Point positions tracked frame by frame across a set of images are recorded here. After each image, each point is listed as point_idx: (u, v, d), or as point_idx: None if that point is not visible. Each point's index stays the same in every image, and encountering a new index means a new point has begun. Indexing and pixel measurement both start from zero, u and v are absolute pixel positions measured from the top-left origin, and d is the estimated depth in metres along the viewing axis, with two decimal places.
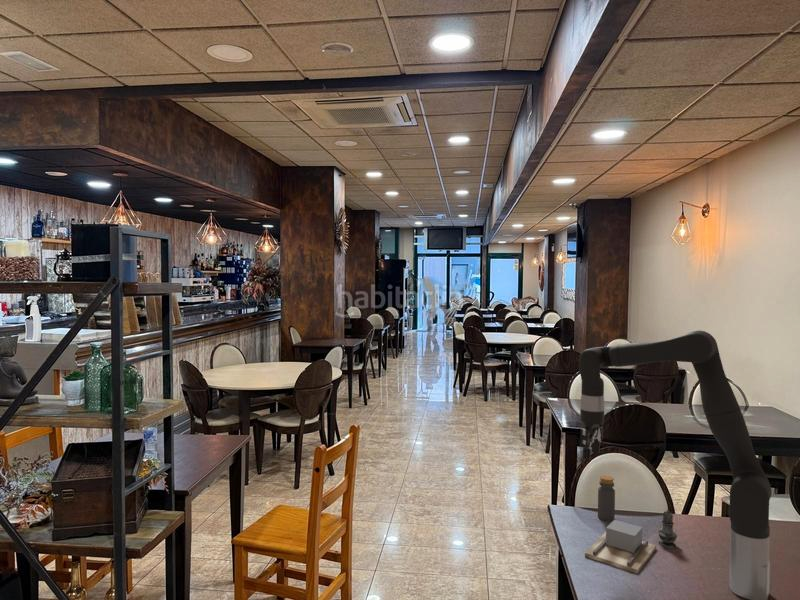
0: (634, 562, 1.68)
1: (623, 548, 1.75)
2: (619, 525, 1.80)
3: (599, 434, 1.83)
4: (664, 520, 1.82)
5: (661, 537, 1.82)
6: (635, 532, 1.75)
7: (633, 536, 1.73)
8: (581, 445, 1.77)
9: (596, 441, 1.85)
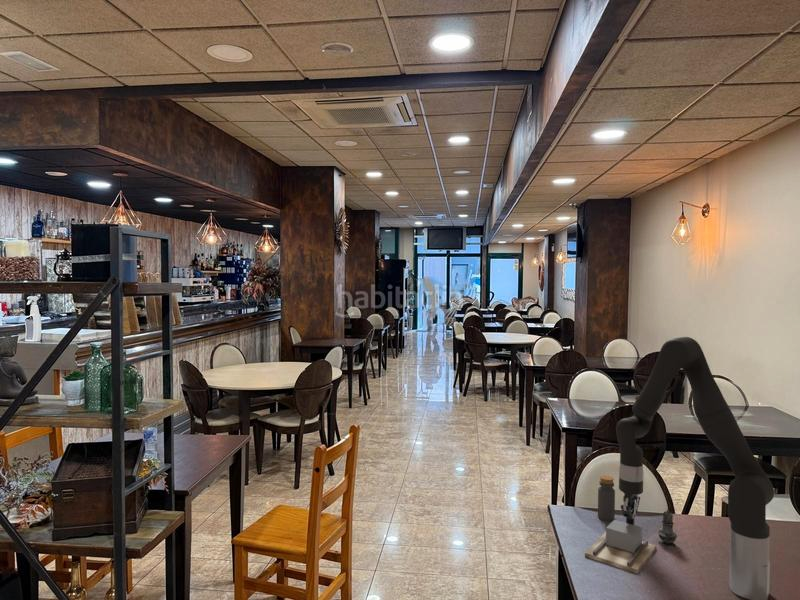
0: (634, 562, 1.68)
1: (623, 548, 1.75)
2: (619, 525, 1.80)
3: (636, 504, 1.83)
4: (664, 520, 1.82)
5: (661, 537, 1.82)
6: (635, 532, 1.75)
7: (633, 536, 1.73)
8: (625, 515, 1.81)
9: None
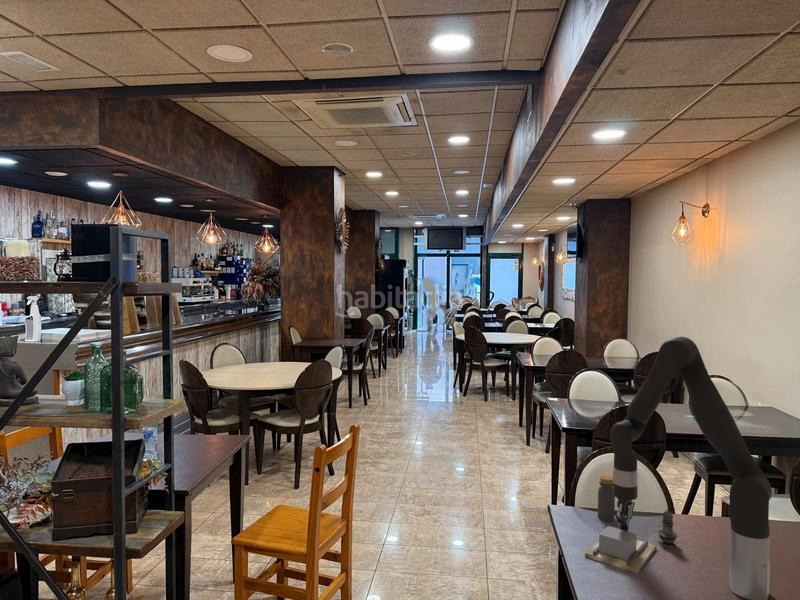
0: (634, 562, 1.68)
1: (617, 555, 1.70)
2: (612, 532, 1.75)
3: (630, 510, 1.78)
4: (664, 520, 1.82)
5: (661, 537, 1.82)
6: (629, 539, 1.71)
7: (627, 543, 1.68)
8: (618, 521, 1.77)
9: None
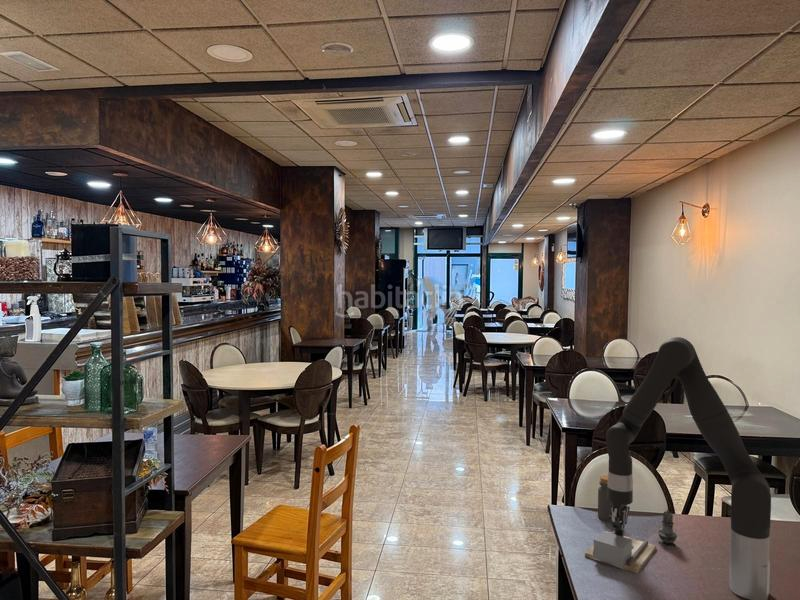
0: (634, 562, 1.68)
1: (611, 561, 1.67)
2: (607, 537, 1.72)
3: (626, 515, 1.74)
4: (664, 520, 1.82)
5: (661, 537, 1.82)
6: (624, 544, 1.67)
7: (622, 549, 1.65)
8: (613, 526, 1.73)
9: None
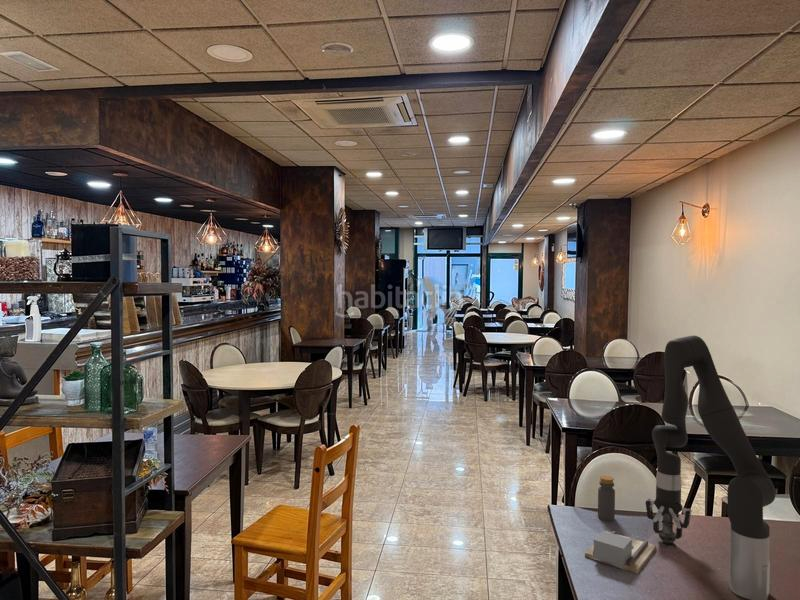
0: (634, 562, 1.68)
1: (611, 561, 1.67)
2: (607, 537, 1.72)
3: (673, 515, 1.80)
4: (664, 520, 1.82)
5: (661, 537, 1.82)
6: (624, 544, 1.67)
7: (622, 549, 1.65)
8: None
9: None
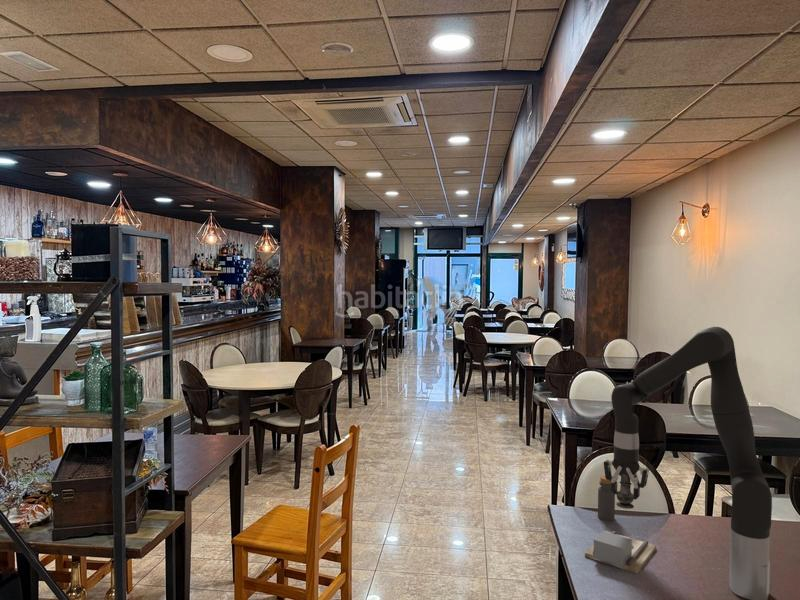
0: (634, 562, 1.68)
1: (611, 561, 1.67)
2: (607, 537, 1.72)
3: (630, 475, 1.76)
4: (622, 480, 1.78)
5: (618, 498, 1.78)
6: (624, 544, 1.67)
7: (622, 549, 1.65)
8: None
9: None
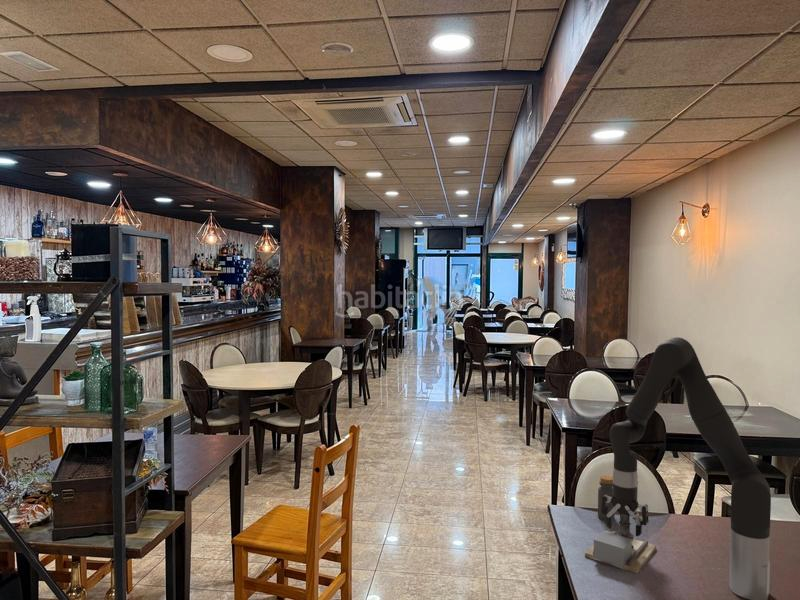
0: (634, 562, 1.68)
1: (611, 561, 1.67)
2: (607, 537, 1.72)
3: (630, 513, 1.76)
4: (621, 521, 1.78)
5: None
6: (624, 544, 1.67)
7: (622, 549, 1.65)
8: None
9: None
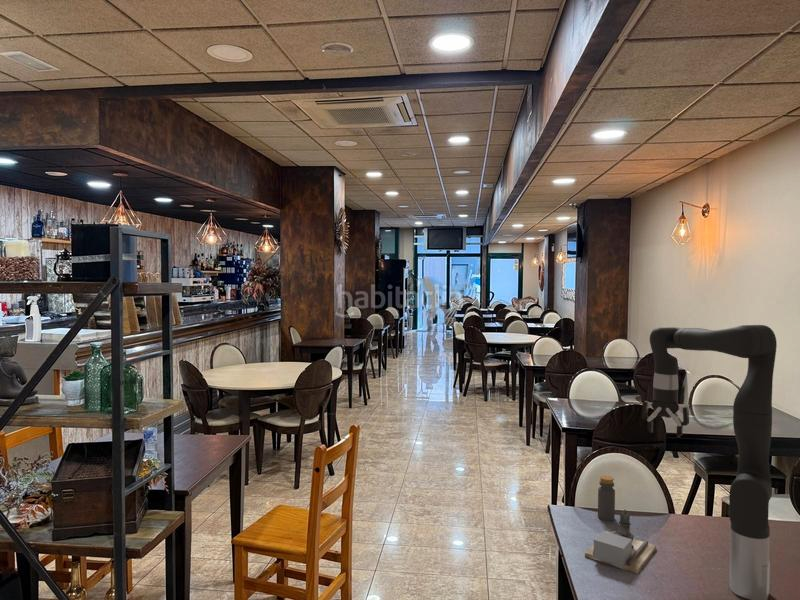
0: (634, 562, 1.68)
1: (611, 561, 1.67)
2: (607, 537, 1.72)
3: (671, 415, 1.81)
4: (621, 521, 1.78)
5: None
6: (624, 544, 1.67)
7: (622, 549, 1.65)
8: None
9: None
